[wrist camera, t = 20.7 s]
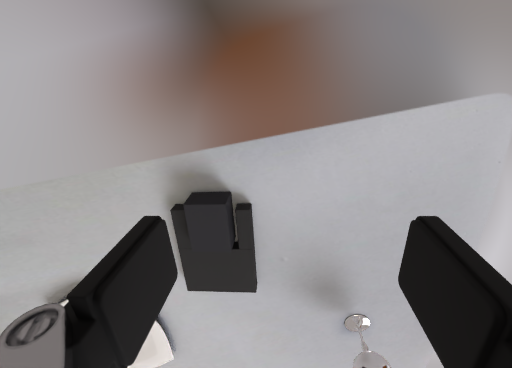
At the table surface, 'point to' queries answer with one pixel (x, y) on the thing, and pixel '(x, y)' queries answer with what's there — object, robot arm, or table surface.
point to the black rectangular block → (210, 221)
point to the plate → (151, 348)
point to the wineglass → (367, 362)
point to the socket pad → (219, 257)
